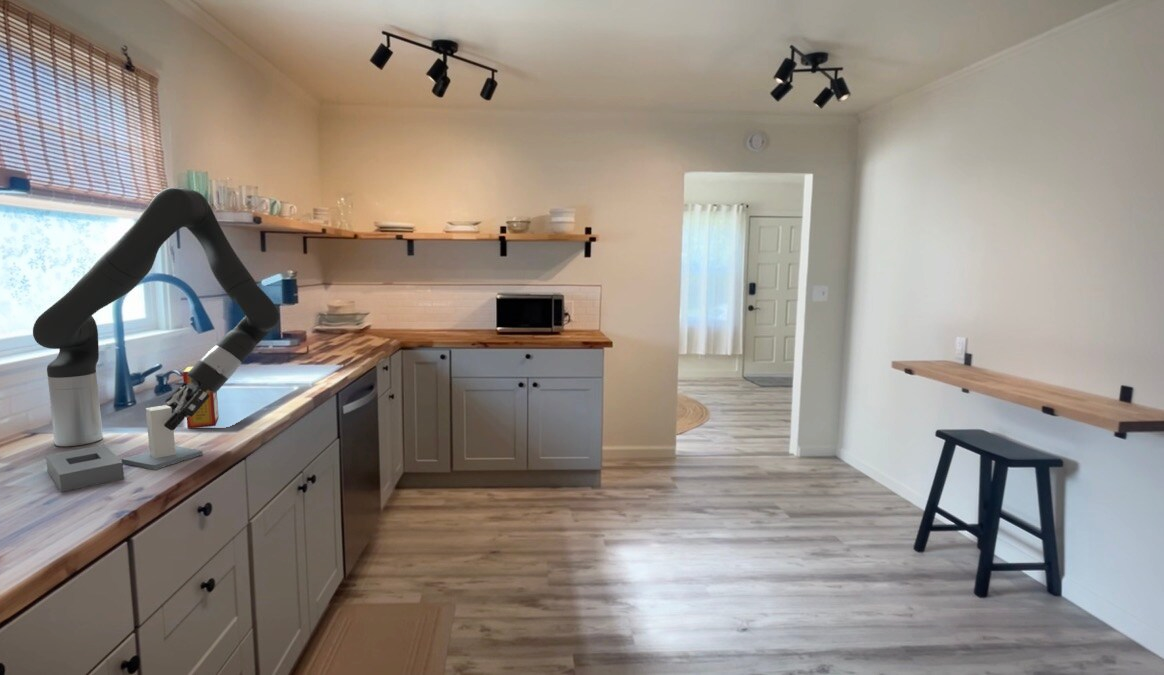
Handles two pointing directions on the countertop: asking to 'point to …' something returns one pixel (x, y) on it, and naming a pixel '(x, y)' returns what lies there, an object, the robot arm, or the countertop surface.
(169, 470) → the countertop surface
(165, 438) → the tall cream white pillar
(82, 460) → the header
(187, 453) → the mat
